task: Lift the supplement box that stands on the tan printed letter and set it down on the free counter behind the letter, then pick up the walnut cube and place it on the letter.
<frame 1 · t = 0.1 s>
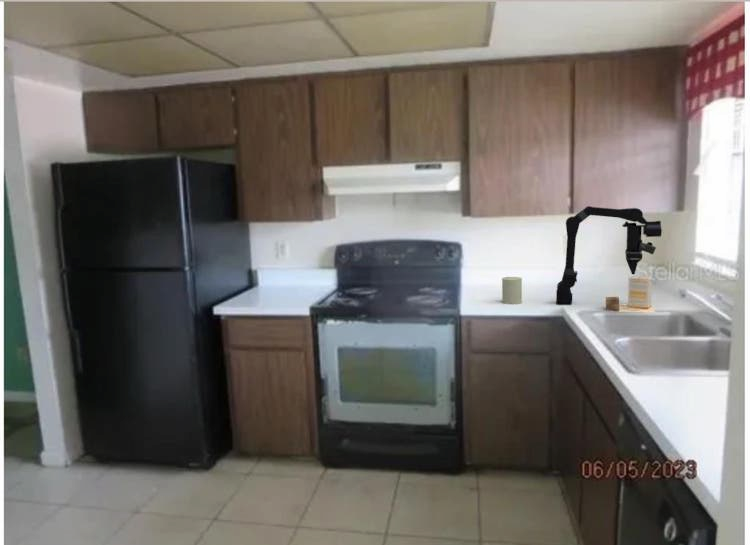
hand: (633, 272, 232), 15 cm above the counter, fingers open, 9 cm apart
walnut cube: (612, 309, 227), on the counter, touching letter
letter: (634, 308, 228), on the counter
can: (512, 302, 251), on the counter
supplement box: (639, 307, 229), resting on letter
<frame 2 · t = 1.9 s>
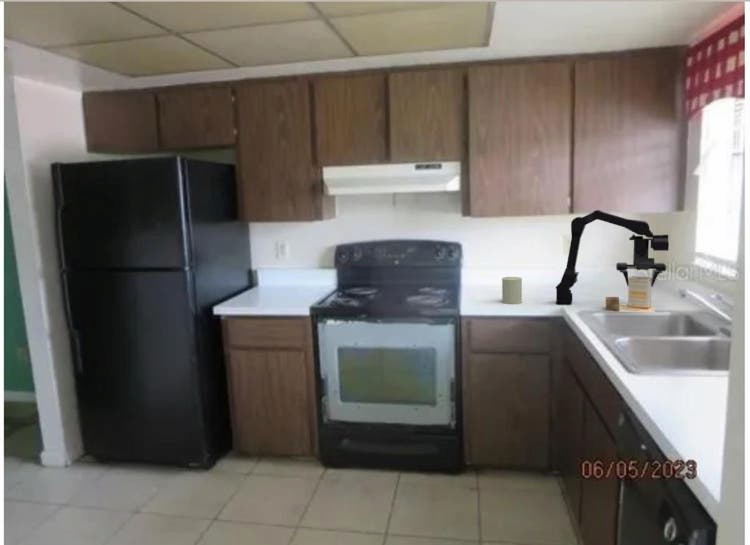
hand: (639, 286, 228), 9 cm above the counter, fingers open, 9 cm apart
supplement box: (639, 307, 229), resting on letter, touching gripper
everything else where it was.
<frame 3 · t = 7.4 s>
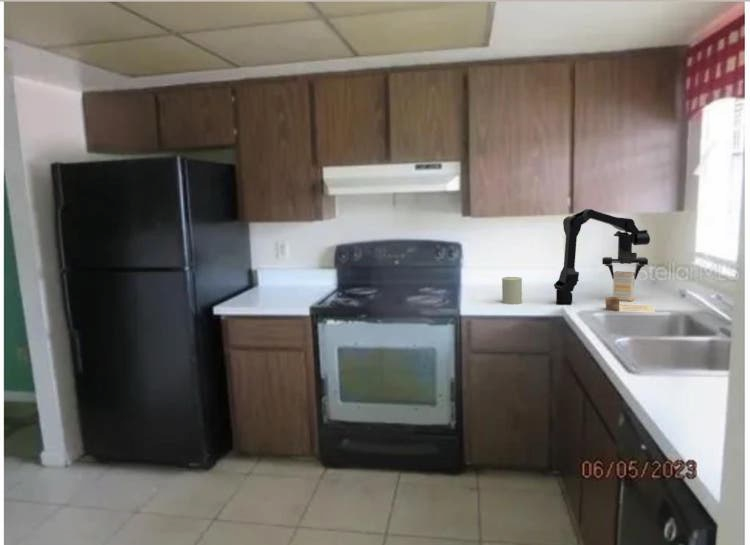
hand: (624, 279, 245), 10 cm above the counter, fingers open, 9 cm apart
supplement box: (623, 300, 245), on the counter
everything else where it was.
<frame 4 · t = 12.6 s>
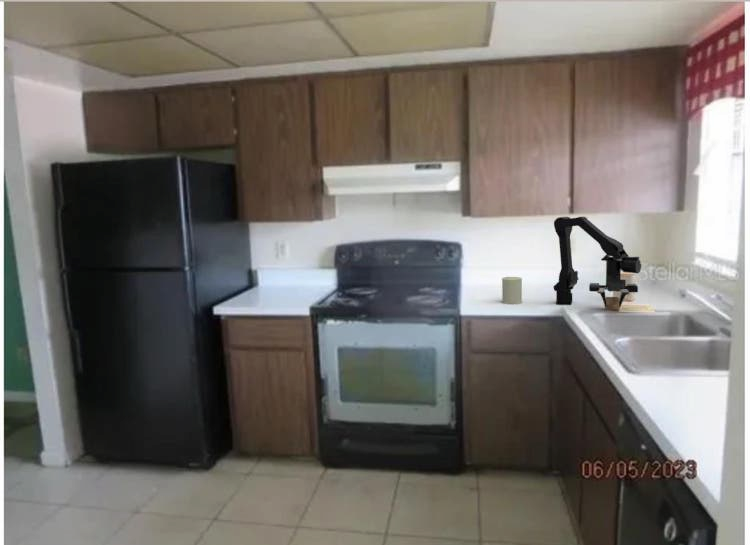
hand: (612, 307, 227), 1 cm above the counter, fingers closed on walnut cube, 5 cm apart
walnut cube: (612, 309, 227), on the counter, touching gripper, letter
everything else where it was.
when the fingers open (2 cm above the counter, at t = 15.6 s): walnut cube drops 1 cm, resting on letter.
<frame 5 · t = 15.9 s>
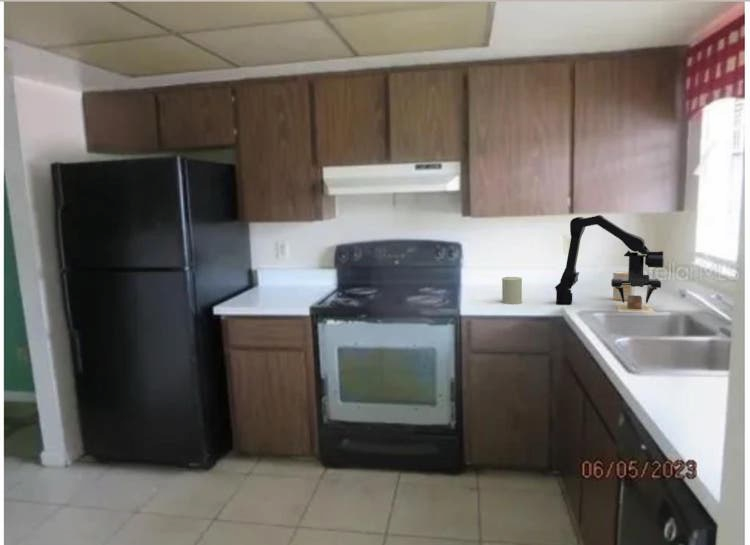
hand: (634, 302, 227), 2 cm above the counter, fingers open, 9 cm apart
walnut cube: (634, 308, 228), resting on letter
everything else where it was.
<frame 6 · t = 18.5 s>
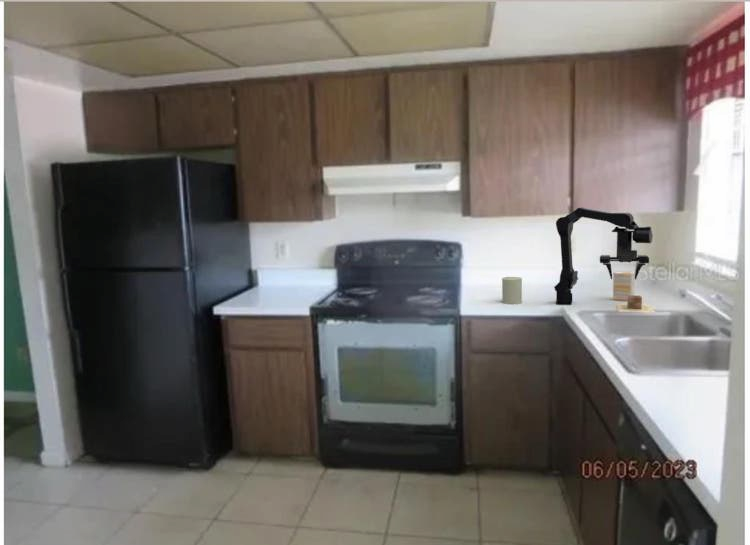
hand: (623, 279, 226), 13 cm above the counter, fingers open, 9 cm apart
nothing on the counter moved.
at the end: walnut cube inside the target area on the letter (0.2 cm from its centre), point 0.2 cm above the letter's base; supplement box touching counter; supplement box moved 16.6 cm from its start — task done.
